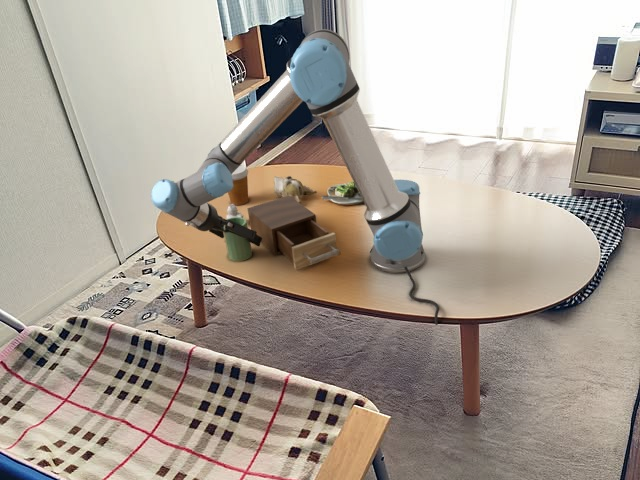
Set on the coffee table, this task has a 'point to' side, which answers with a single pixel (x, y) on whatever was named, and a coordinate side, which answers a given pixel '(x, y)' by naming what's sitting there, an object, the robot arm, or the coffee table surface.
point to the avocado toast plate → (344, 194)
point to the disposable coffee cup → (239, 186)
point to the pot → (237, 243)
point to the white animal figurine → (233, 212)
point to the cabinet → (277, 218)
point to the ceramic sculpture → (291, 188)
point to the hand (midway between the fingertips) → (241, 238)
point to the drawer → (306, 243)
